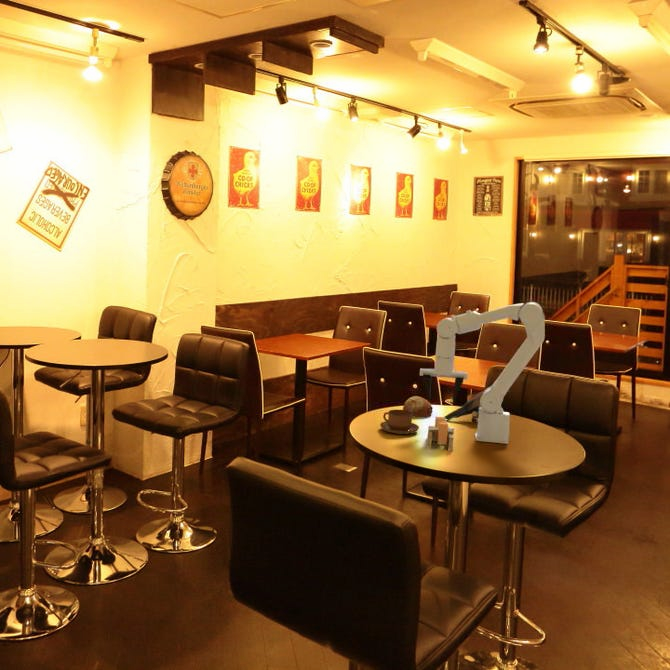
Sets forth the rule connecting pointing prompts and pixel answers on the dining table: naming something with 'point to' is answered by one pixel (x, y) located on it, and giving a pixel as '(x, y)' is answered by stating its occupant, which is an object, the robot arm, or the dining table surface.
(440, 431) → the orange long block
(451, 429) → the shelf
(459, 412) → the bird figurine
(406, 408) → the bread roll
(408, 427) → the cup and saucer
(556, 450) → the dining table surface
